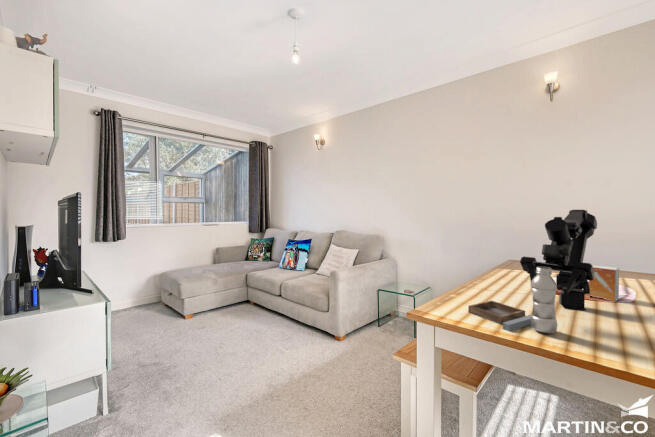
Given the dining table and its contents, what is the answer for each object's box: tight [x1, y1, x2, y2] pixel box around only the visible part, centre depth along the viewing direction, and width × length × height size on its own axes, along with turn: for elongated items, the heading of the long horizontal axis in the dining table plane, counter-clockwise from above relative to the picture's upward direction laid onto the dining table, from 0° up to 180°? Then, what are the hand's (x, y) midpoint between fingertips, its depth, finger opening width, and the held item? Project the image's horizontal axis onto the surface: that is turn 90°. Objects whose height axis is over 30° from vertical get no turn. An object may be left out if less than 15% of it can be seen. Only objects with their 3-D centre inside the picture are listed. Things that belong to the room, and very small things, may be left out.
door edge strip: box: [502, 314, 532, 332], centre depth 94 cm, size 18×2×2 cm, turn 114°
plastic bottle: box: [530, 267, 558, 334], centre depth 88 cm, size 6×7×20 cm
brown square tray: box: [467, 300, 526, 325], centre depth 103 cm, size 13×13×2 cm
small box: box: [588, 264, 620, 303], centre depth 119 cm, size 8×6×13 cm
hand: (548, 288), depth 91 cm, fingers open, 9 cm apart
